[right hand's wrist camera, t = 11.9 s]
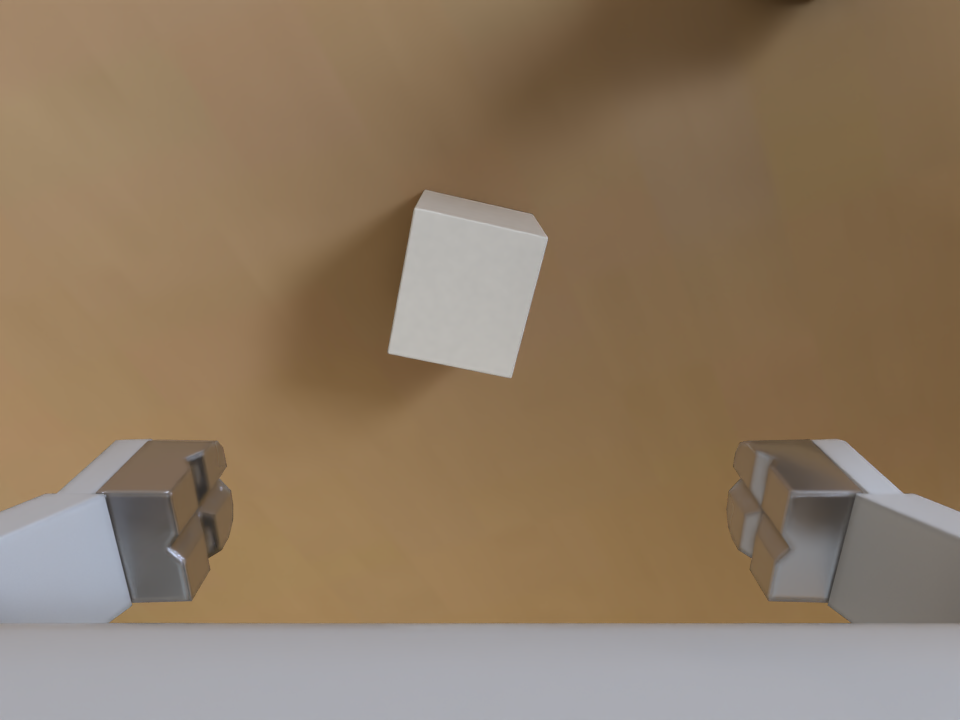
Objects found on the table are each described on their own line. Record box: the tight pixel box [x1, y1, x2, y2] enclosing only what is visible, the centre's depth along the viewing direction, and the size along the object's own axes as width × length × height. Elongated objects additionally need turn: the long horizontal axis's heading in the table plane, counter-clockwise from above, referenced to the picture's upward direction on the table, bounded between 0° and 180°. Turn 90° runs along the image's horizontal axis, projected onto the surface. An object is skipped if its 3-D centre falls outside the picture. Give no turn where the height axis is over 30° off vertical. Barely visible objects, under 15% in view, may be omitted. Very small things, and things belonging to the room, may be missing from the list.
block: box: [387, 190, 548, 378], centre depth 23 cm, size 4×5×5 cm
